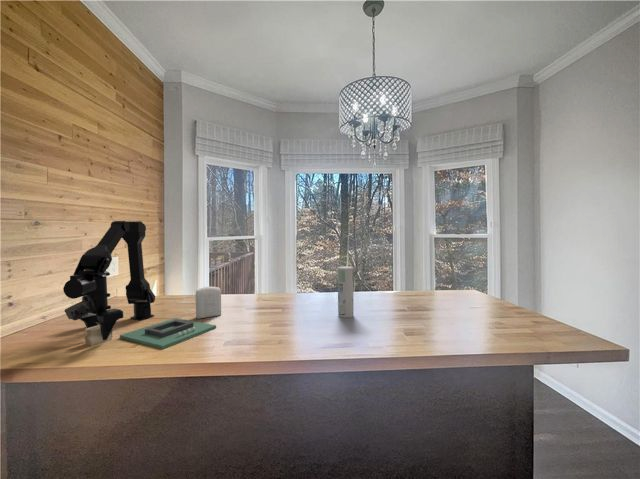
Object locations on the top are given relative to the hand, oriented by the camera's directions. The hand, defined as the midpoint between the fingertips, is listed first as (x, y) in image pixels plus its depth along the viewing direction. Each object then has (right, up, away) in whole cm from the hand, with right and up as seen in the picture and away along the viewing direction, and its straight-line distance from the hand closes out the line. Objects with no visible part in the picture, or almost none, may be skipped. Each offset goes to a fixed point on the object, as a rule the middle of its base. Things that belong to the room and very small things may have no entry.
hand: (98, 338), depth 106 cm
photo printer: (+27, 0, +28) cm, 39 cm away
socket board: (+20, 0, +8) cm, 21 cm away
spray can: (+83, +1, +27) cm, 88 cm away
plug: (0, -1, 0) cm, 1 cm away
